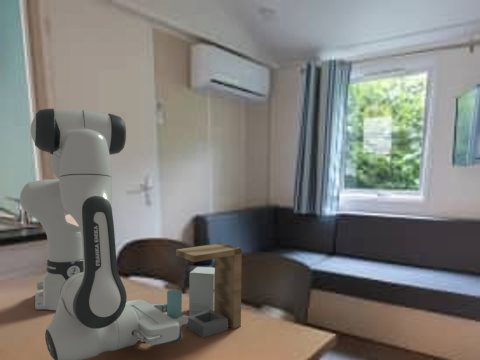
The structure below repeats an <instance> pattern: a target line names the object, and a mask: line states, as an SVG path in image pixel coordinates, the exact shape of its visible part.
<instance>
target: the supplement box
mask: <svg viewBox="0 0 480 360" xmlns="http://www.w3.org/2000/svg"><path fill="white" fill-rule="evenodd" d="M188 281H189V283H188V284H189V286H188V288H189V290H188V295H189V296H188V297H189V298H188V300H189V301H188V316H190V315H193V314H197V313H201V312H204V311H208V310H213V311H214V296H215V267H213V266H212V267H207V266H206V267H205V266H195V268H194V269H192V270H191V271H190V272H189V280H188Z"/></svg>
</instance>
